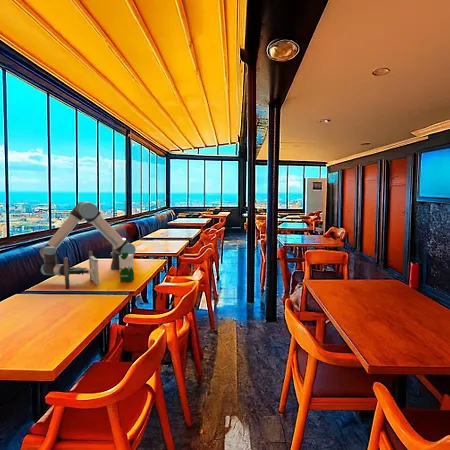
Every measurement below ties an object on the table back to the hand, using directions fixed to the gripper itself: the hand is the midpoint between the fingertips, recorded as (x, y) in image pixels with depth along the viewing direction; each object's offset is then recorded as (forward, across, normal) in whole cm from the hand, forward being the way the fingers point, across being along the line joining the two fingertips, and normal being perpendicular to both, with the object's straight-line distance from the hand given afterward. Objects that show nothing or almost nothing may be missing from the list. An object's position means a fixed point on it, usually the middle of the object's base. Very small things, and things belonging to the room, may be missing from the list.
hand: (93, 271), depth 223 cm
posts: (-11, -1, -9) cm, 14 cm away
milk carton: (+17, -14, -9) cm, 24 cm away
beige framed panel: (-3, -5, -8) cm, 10 cm away
